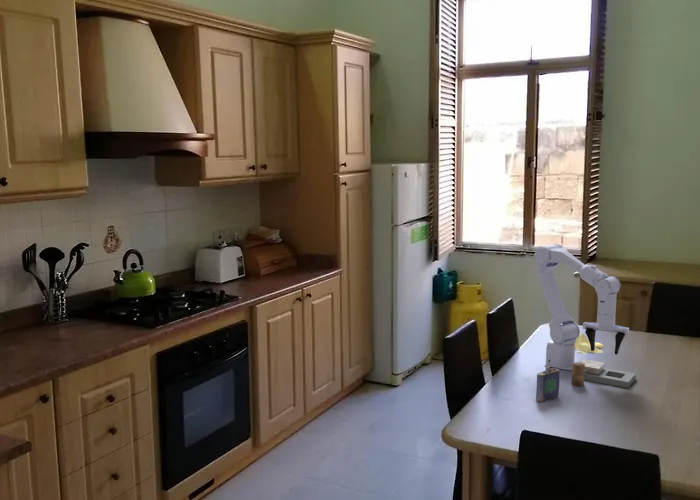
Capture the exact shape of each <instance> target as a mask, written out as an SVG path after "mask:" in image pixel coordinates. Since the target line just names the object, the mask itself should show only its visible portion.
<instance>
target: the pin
mask: <svg viewBox="0 0 700 500" xmlns="http://www.w3.org/2000/svg"><path fill="white" fill-rule="evenodd" d="M584 376H585V364H583V363H579V362H574V363H572V370H571V385H572V386H573V387H579V388H581V387H585V380H584Z"/></svg>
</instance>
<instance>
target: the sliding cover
mask: <svg viewBox="0 0 700 500" xmlns="http://www.w3.org/2000/svg"><path fill="white" fill-rule="evenodd" d="M578 363H583V364H585V372H587V373H593V374H599V373H600V372H601V371H602V370H603V369H604V368H606V367H605V364H606V363H605V362H603V361H596V360H590V359H586V358H585V359H584V358H582V359H581V360H579V362H578Z"/></svg>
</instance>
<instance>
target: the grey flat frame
mask: <svg viewBox="0 0 700 500" xmlns="http://www.w3.org/2000/svg"><path fill="white" fill-rule="evenodd" d="M636 375H637V374H636V373H634V372H629V371H624V370H618V369H612V368H607V367H604V369H603V370H602V371H601V372H600V373H599V374H593V373H587V372H585V376H584V381H590V382H596V383H600V384H605V385H610V386H616V387H621V388H626V389H628V388H630V386H631V385H632V384H633V383H634V382H635V380H636V378H637V377H636Z"/></svg>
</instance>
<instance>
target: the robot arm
mask: <svg viewBox="0 0 700 500" xmlns="http://www.w3.org/2000/svg"><path fill="white" fill-rule="evenodd" d="M533 259H534V262H535V272H536V275H537V278H538V282H539V285H540V288H541V291H542V293H543V296H544V299H545V302H546V305H547V308H548V311H549V313H550V315H551V320H550V321H549V323H548V327H549V336H550V338H551V339H550V340H548V341H547V343H546V350H545V364H544V367H547V365H548V366H549V367H550V368H554V369H558V370H560V369H561V370H564V371H565V370H566V371H572V363H575V355H576V354H575V352H576V350H575V342H576V338H578V337H579V335H580V333H581V330H580V327H579V325H578V324H577V323H576V322H575V319H574V317H572V316H571V315H570V314H568V312H567V310H566V307H565V303H564V301H563V298H562V294H561V292H560V289H559V287H558V284H557V280H556V278H555V276H554V271H555V268H557V267H558V265H559V264H560V263H561V264H563V265H565V266H567V267H568V268H569V269H572V270H574V271H576V272H577V273H579V277H580V278H581V280H583V281H585V282H586V283H587V284H588V285H590V286H591V287H593V288H594V290H595V293H596V294H597V316H596V317H597V318H596V322H587V321H585V322H583V323H582V329H583V330H585V336H586V337H587V338H588V340H589V342H590V346H591V351H594V350H595V342H596V332H597V331H601V332H609V333H616V334H615V337H614V339H615V343H614V344H615V345H614V355H616V356H617V355H618V354H619V350H620V348H621V344H622V342H623V340H624V338H625V336H628V335H629V334H630V327H626V326H623V325H622V326H621V325H617V324H616V311H617V310H616V309H617V293H619V291H620V290H621V285H622V284H621V282H620V280H619V279H618V278H617V277H616V276H614V275H611V276H609V275H608V273H606V272H603V271H601V270H600V269H598V267H597V266H596V265H595V264H585V263H584V262H582V261H581V260H579V259H578V258H577V257H575V256H574V255H573V254H572V253H570V252H569V251H568V248H566V247H564V246H562V245H561V244H558V243H557V244H553V245H545V246H543V245H542V246H538V247H537V248H536V250H535V252H534V254H533Z"/></svg>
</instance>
